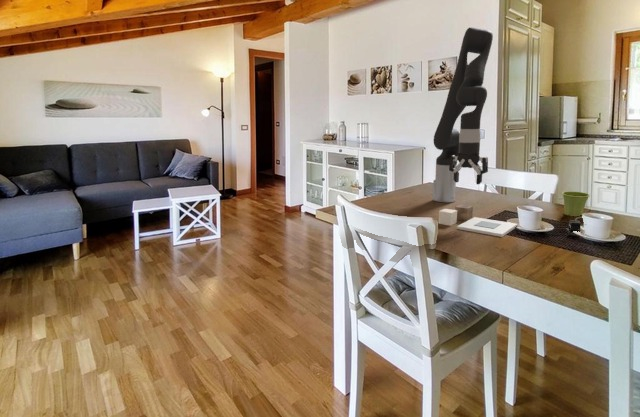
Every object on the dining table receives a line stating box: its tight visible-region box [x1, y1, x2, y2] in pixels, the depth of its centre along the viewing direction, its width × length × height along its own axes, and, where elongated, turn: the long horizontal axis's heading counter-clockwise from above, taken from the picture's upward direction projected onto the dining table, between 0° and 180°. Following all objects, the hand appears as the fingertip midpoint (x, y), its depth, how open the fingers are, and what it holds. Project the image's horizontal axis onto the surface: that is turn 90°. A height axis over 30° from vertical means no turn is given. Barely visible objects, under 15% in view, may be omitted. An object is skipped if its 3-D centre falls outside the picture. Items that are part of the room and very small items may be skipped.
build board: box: [456, 216, 519, 238], centre depth 153 cm, size 16×16×1 cm
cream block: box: [438, 208, 458, 227], centre depth 160 cm, size 5×5×5 cm
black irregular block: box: [566, 219, 582, 233], centre depth 145 cm, size 12×7×5 cm, turn 156°
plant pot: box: [561, 190, 591, 218], centre depth 167 cm, size 9×9×9 cm
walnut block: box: [454, 204, 474, 222], centre depth 166 cm, size 5×5×5 cm
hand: (467, 183), depth 163 cm, fingers open, 8 cm apart
